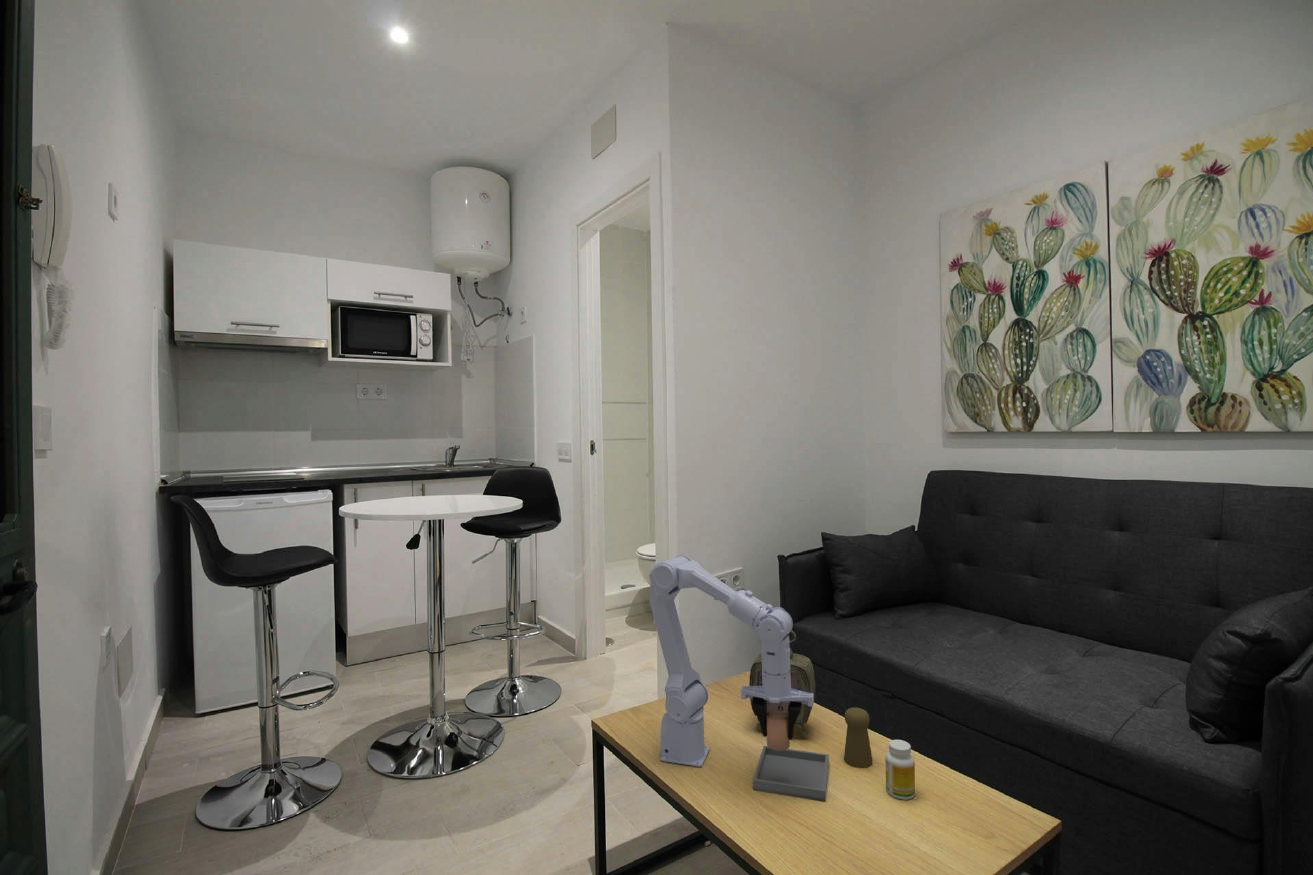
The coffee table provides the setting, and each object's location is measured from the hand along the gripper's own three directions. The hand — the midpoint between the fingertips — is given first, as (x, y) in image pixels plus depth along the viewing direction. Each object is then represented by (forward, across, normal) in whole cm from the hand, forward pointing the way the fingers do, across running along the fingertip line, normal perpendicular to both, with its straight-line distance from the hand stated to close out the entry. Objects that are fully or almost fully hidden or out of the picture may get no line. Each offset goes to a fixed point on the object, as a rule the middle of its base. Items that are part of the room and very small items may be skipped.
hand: (778, 735), depth 125 cm
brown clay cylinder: (+2, 0, 0) cm, 2 cm away
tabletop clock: (+10, -2, +23) cm, 25 cm away
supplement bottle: (+10, +23, +3) cm, 25 cm away
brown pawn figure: (+10, +15, +13) cm, 22 cm away
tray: (+10, +2, +3) cm, 10 cm away
